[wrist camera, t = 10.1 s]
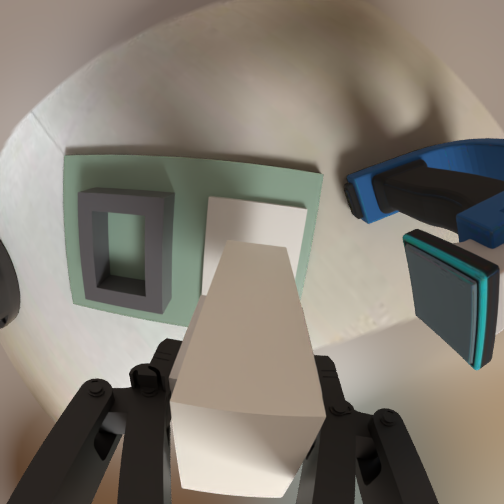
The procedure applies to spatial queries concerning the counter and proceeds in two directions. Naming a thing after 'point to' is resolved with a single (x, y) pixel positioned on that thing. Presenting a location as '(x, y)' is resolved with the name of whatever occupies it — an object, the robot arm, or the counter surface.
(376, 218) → the handheld scanner
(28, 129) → the counter surface
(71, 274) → the green socket board
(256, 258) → the plug
